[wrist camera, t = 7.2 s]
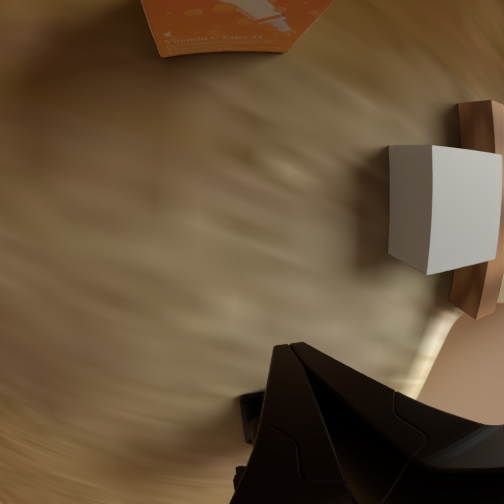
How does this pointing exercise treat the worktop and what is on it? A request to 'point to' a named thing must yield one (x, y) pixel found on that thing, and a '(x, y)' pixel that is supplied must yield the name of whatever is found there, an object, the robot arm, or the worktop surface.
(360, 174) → the worktop surface
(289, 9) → the small box
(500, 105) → the board
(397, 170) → the block
